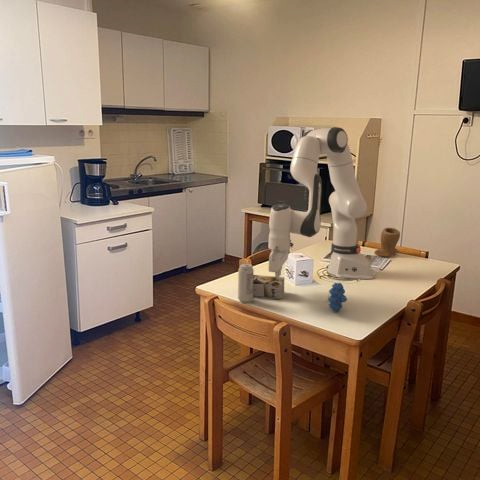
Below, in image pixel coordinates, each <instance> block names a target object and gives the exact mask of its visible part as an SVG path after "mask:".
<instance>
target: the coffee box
mask: <svg viewBox="0 0 480 480" xmlns="http://www.w3.org/2000/svg"><path fill="white" fill-rule="evenodd" d="M285 278H286V277H283V276H279V277H275V275H274V276H272V275H260V274H253V296H263V297H273V298H278V299H282V298H283V295H284V291H285Z"/></svg>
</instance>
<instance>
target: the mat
mask: <svg viewBox="0 0 480 480" xmlns="http://www.w3.org/2000/svg"><path fill="white" fill-rule="evenodd" d="M253 298H259V299H267V300H273V301H278V299H279V298H273V297H263V296H253Z"/></svg>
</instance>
